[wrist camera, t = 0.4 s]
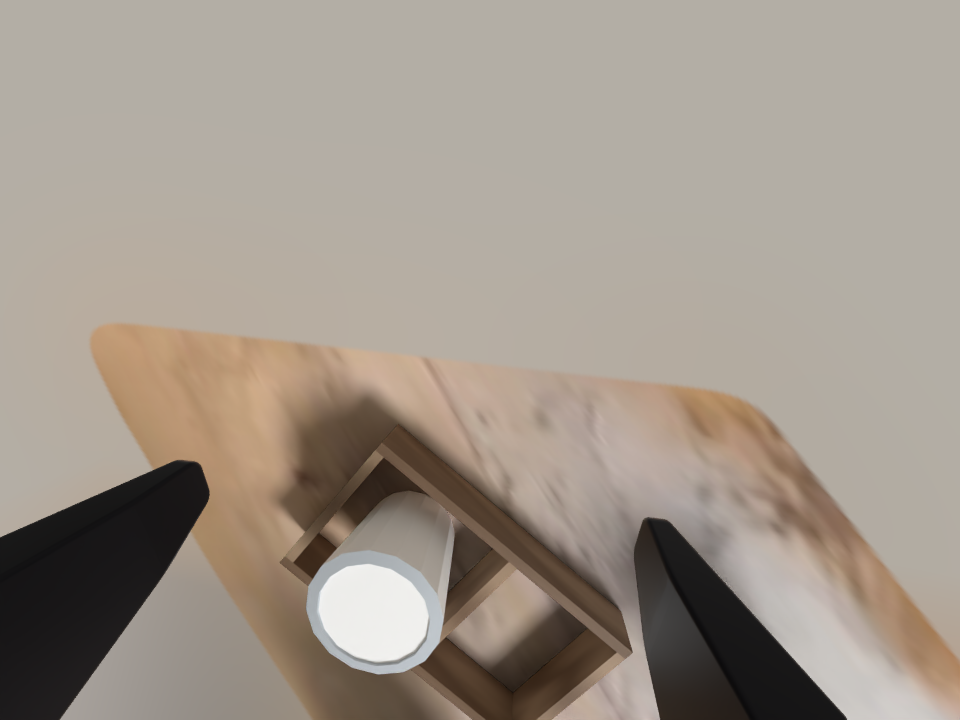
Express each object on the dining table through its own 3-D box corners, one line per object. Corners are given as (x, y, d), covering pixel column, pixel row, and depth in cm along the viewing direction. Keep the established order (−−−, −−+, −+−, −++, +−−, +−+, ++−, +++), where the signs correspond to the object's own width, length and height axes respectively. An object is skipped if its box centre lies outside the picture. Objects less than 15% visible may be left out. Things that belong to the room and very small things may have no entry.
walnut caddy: (513, 703, 29) (512, 751, 26) (305, 532, 28) (279, 562, 25) (621, 611, 26) (632, 652, 24) (398, 424, 26) (381, 442, 23)
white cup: (415, 598, 28) (378, 700, 21) (339, 527, 28) (277, 609, 21) (487, 535, 27) (473, 623, 20) (408, 460, 26) (365, 523, 19)
